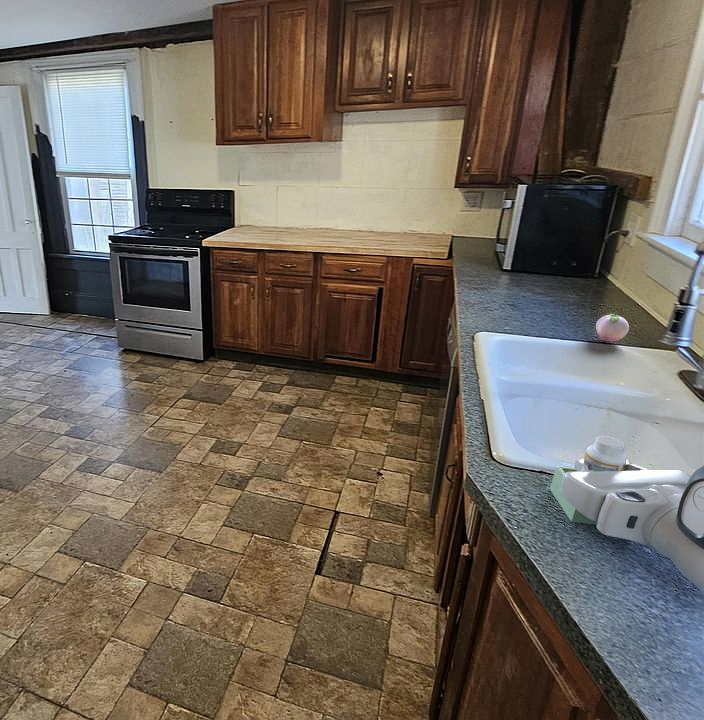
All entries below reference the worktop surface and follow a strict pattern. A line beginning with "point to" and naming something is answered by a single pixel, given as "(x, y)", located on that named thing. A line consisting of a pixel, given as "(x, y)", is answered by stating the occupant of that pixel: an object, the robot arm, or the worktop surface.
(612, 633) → the worktop surface
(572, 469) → the bin
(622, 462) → the supplement bottle
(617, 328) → the decorative fruit
